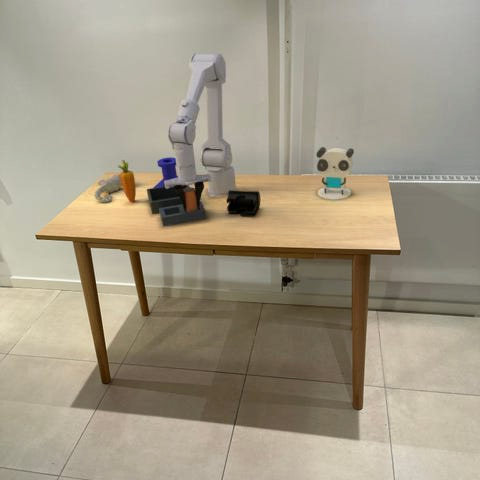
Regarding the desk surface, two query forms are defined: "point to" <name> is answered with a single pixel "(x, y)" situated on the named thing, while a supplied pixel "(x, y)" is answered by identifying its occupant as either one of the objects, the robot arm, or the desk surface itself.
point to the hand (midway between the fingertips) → (191, 206)
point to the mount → (167, 170)
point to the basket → (163, 198)
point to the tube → (190, 199)
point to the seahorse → (108, 187)
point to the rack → (181, 214)
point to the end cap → (243, 202)
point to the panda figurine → (334, 172)
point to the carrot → (127, 182)
